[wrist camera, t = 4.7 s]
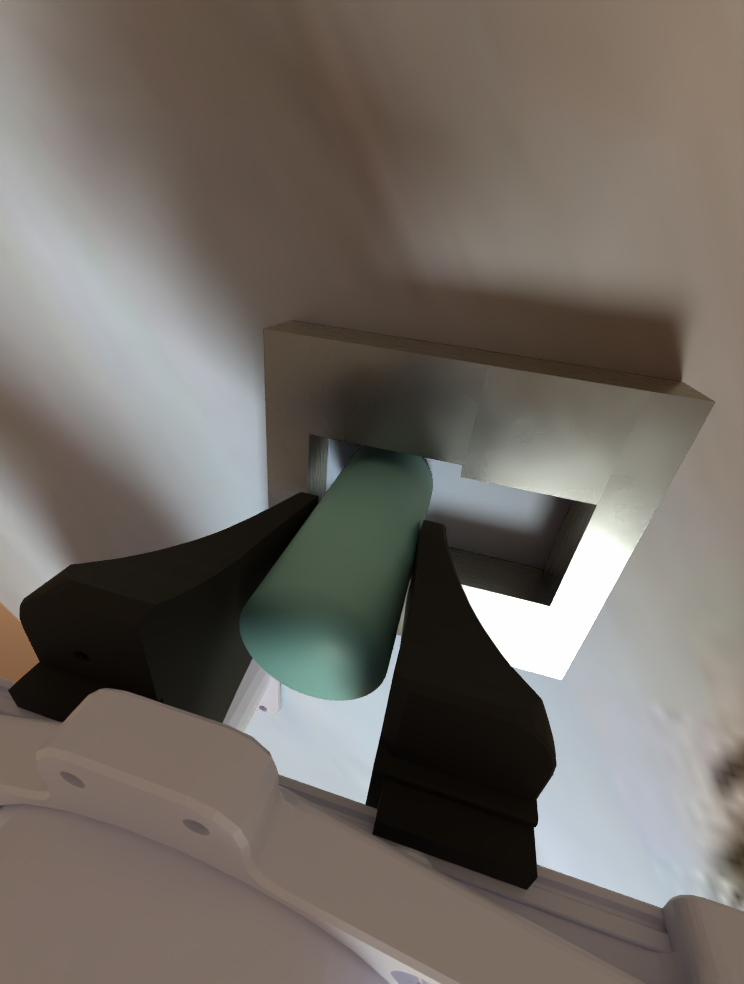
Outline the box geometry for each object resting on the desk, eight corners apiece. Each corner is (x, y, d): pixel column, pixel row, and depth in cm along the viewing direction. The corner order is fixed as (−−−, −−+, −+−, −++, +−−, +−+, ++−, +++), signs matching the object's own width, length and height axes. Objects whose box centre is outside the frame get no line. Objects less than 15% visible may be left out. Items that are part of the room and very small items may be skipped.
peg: (343, 509, 17) (243, 675, 10) (349, 432, 15) (234, 569, 8) (424, 528, 16) (378, 717, 9) (440, 450, 14) (398, 612, 8)
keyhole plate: (290, 570, 19) (271, 599, 17) (291, 320, 14) (263, 328, 12) (554, 639, 17) (561, 679, 16) (682, 381, 12) (715, 401, 10)
